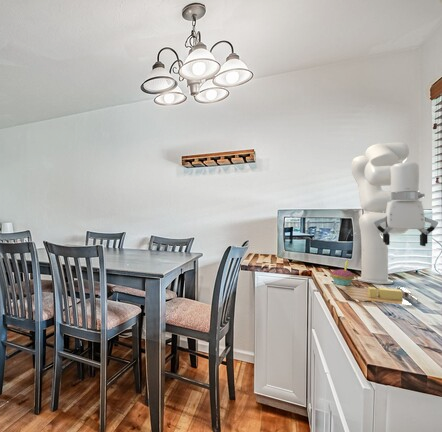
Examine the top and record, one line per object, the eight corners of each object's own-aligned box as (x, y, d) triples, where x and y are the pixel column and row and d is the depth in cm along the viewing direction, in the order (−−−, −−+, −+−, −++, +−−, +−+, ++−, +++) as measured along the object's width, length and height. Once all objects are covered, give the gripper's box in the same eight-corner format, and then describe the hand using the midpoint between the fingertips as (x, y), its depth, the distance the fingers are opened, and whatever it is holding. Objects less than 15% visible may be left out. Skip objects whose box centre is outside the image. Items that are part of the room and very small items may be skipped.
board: (343, 288, 131) (343, 286, 131) (394, 293, 124) (394, 290, 124) (351, 301, 112) (352, 298, 112) (412, 307, 104) (412, 304, 104)
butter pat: (367, 294, 118) (367, 286, 118) (374, 295, 117) (374, 287, 117) (370, 297, 115) (369, 288, 115) (377, 297, 114) (377, 289, 114)
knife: (397, 293, 124) (397, 286, 124) (403, 293, 123) (403, 287, 123) (413, 306, 106) (413, 298, 106) (420, 306, 106) (420, 299, 106)
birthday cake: (350, 284, 139) (350, 257, 139) (357, 289, 131) (357, 260, 131) (327, 283, 142) (327, 256, 142) (333, 287, 134) (333, 259, 134)
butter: (378, 295, 117) (378, 287, 117) (399, 297, 114) (399, 289, 114) (380, 298, 113) (380, 289, 113) (402, 300, 110) (402, 291, 110)
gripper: (433, 197, 113) (433, 245, 113) (371, 198, 121) (371, 243, 121) (441, 196, 106) (441, 247, 106) (375, 197, 115) (376, 245, 115)
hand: (404, 245), depth 114 cm, fingers open, 9 cm apart
